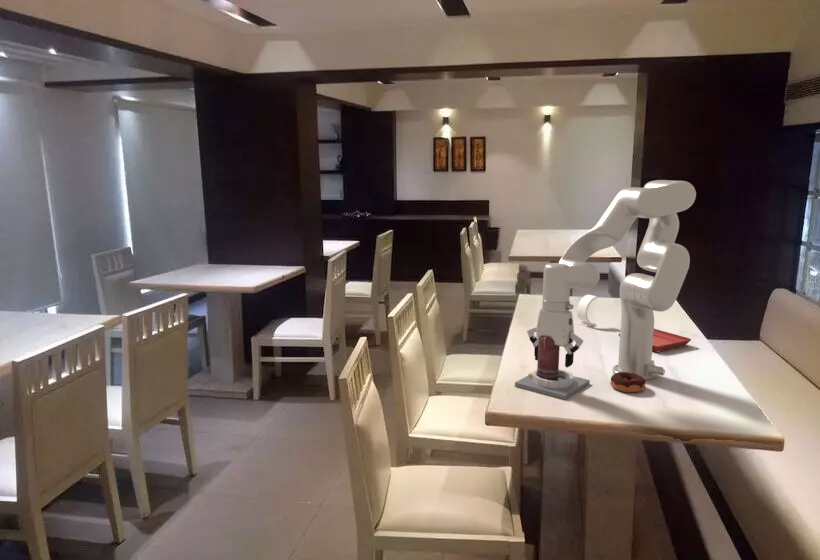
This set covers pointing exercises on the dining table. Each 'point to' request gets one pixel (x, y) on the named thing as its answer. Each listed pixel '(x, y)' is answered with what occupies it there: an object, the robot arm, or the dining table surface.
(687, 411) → the dining table surface
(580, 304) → the white curved piece
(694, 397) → the dining table surface
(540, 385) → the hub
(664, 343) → the plant saucer
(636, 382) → the donut
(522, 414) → the dining table surface
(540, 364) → the can
